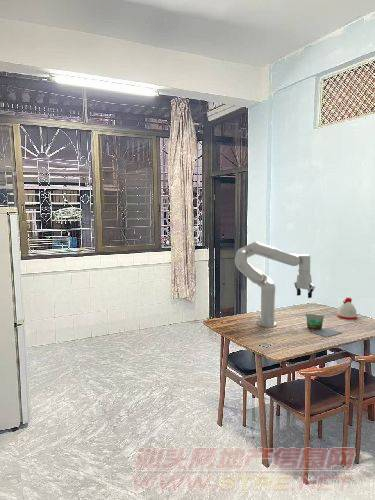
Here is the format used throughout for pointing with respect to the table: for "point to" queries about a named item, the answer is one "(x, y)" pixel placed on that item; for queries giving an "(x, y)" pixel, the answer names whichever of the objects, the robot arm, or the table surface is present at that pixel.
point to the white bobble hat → (347, 310)
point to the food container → (314, 321)
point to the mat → (326, 332)
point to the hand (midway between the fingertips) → (304, 296)
